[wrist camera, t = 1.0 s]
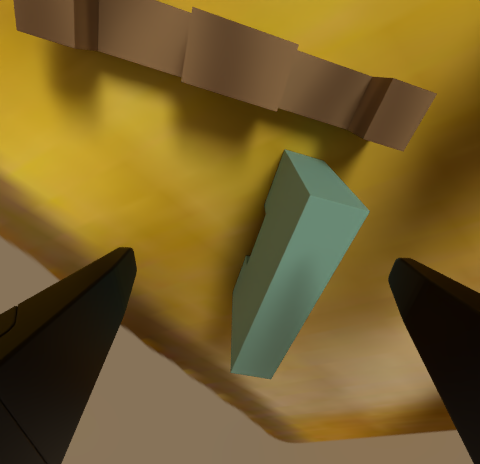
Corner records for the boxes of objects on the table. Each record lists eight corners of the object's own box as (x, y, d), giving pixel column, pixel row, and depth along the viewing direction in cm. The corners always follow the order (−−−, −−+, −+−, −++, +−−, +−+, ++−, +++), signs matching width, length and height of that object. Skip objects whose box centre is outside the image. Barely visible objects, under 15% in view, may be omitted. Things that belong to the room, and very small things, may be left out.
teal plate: (284, 149, 19) (310, 195, 12) (324, 161, 20) (369, 211, 13) (232, 292, 26) (230, 372, 19) (262, 298, 27) (271, 379, 20)
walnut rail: (397, 88, 17) (437, 93, 14) (373, 136, 19) (403, 151, 15) (62, -29, 14) (7, -60, 11) (64, 38, 16) (16, 30, 12)
